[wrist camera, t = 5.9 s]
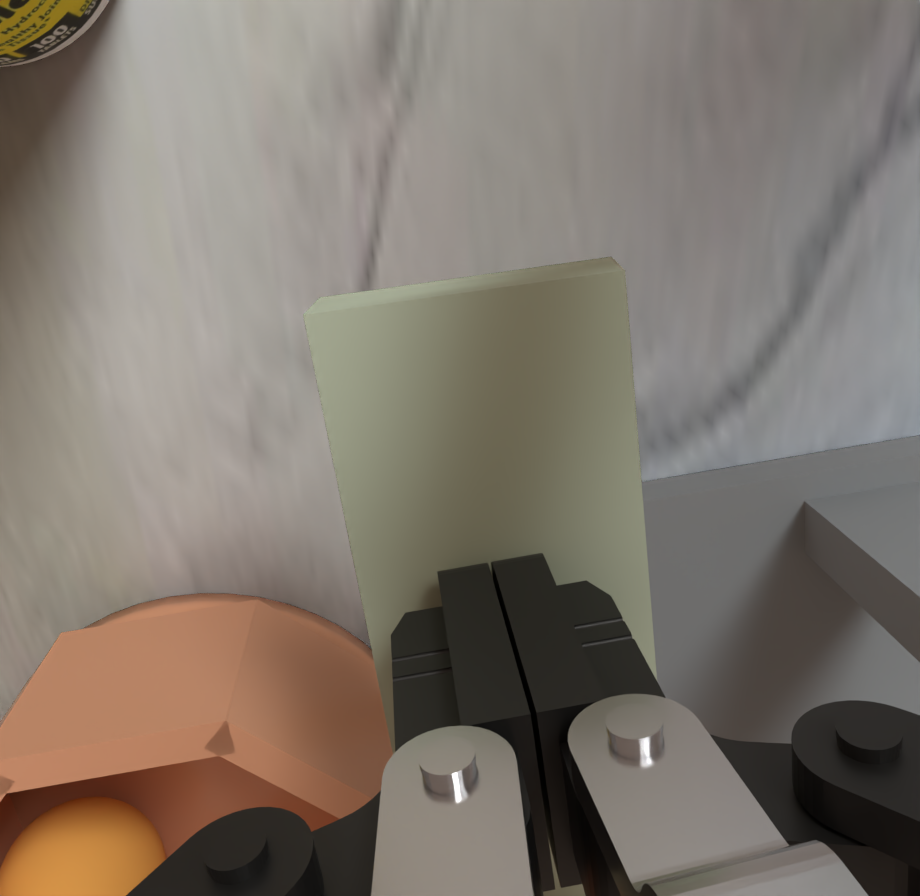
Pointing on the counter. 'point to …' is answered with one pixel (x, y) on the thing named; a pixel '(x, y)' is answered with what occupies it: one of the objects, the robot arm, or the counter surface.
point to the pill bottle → (42, 27)
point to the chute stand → (787, 586)
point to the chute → (485, 439)
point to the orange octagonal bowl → (197, 717)
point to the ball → (82, 851)
